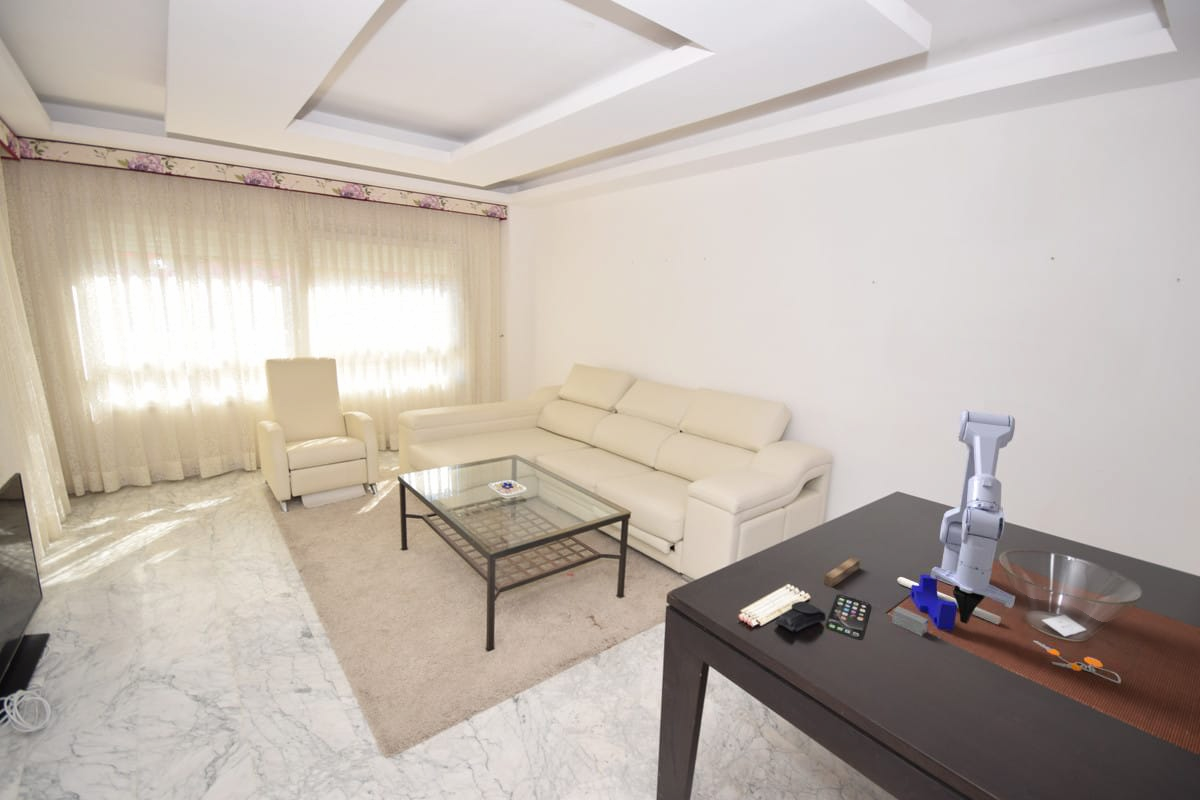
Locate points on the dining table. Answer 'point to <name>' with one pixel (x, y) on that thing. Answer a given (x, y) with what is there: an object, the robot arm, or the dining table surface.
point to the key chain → (1093, 663)
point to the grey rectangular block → (910, 621)
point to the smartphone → (848, 616)
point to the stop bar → (841, 572)
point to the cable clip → (933, 603)
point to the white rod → (944, 597)
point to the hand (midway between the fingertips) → (964, 620)
